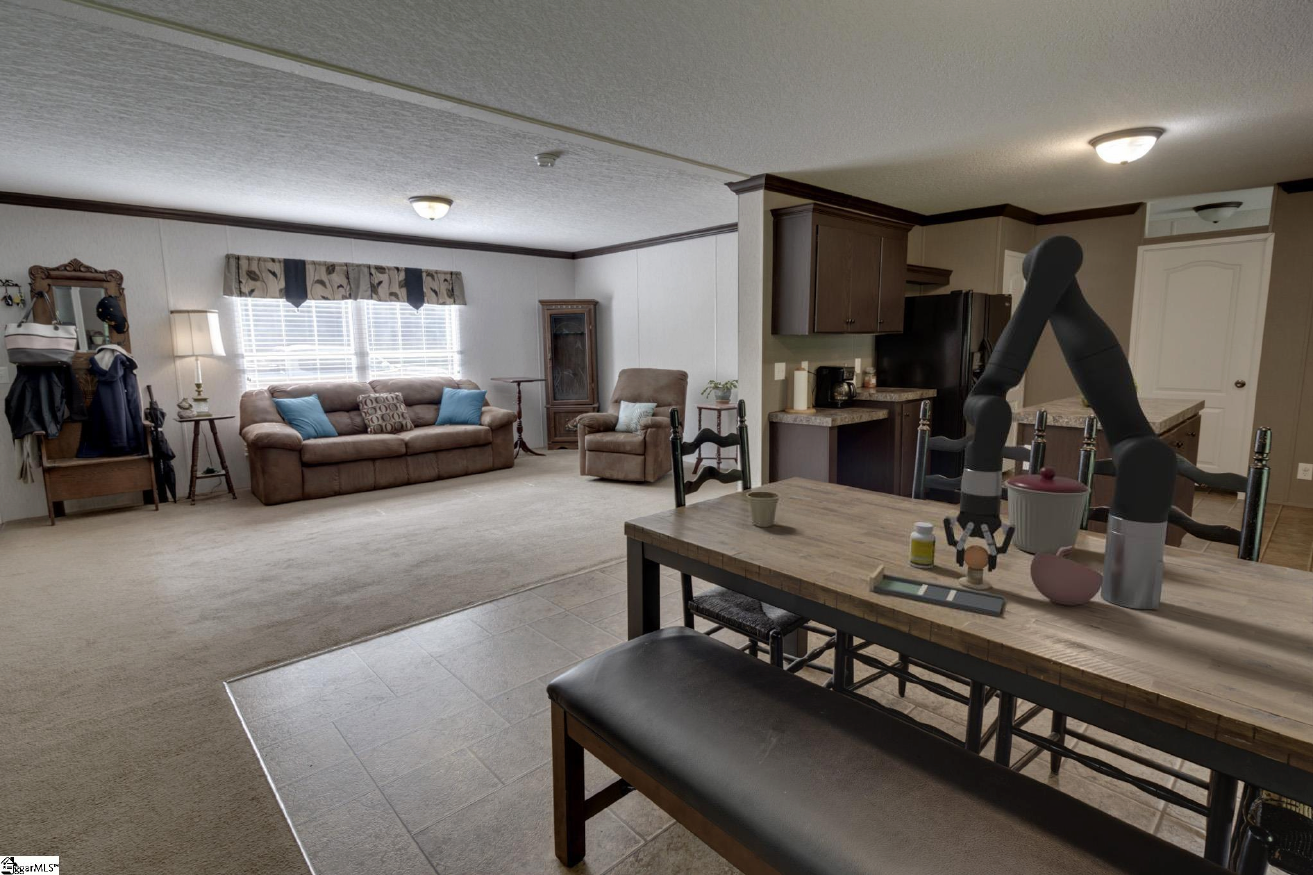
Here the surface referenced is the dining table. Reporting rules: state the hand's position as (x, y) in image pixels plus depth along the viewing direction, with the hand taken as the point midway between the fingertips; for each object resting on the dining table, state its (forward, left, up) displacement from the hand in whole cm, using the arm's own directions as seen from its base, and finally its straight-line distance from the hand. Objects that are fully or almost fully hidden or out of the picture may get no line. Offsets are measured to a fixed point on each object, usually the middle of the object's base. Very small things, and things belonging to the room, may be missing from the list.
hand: (975, 567), depth 136 cm
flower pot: (+57, -19, -4) cm, 60 cm away
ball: (0, 0, +2) cm, 2 cm away
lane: (+6, +11, -4) cm, 13 cm away
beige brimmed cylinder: (0, 0, -4) cm, 4 cm away
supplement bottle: (+12, -7, -4) cm, 14 cm away
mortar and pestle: (-16, +1, -4) cm, 17 cm away
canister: (-11, -35, -4) cm, 37 cm away
